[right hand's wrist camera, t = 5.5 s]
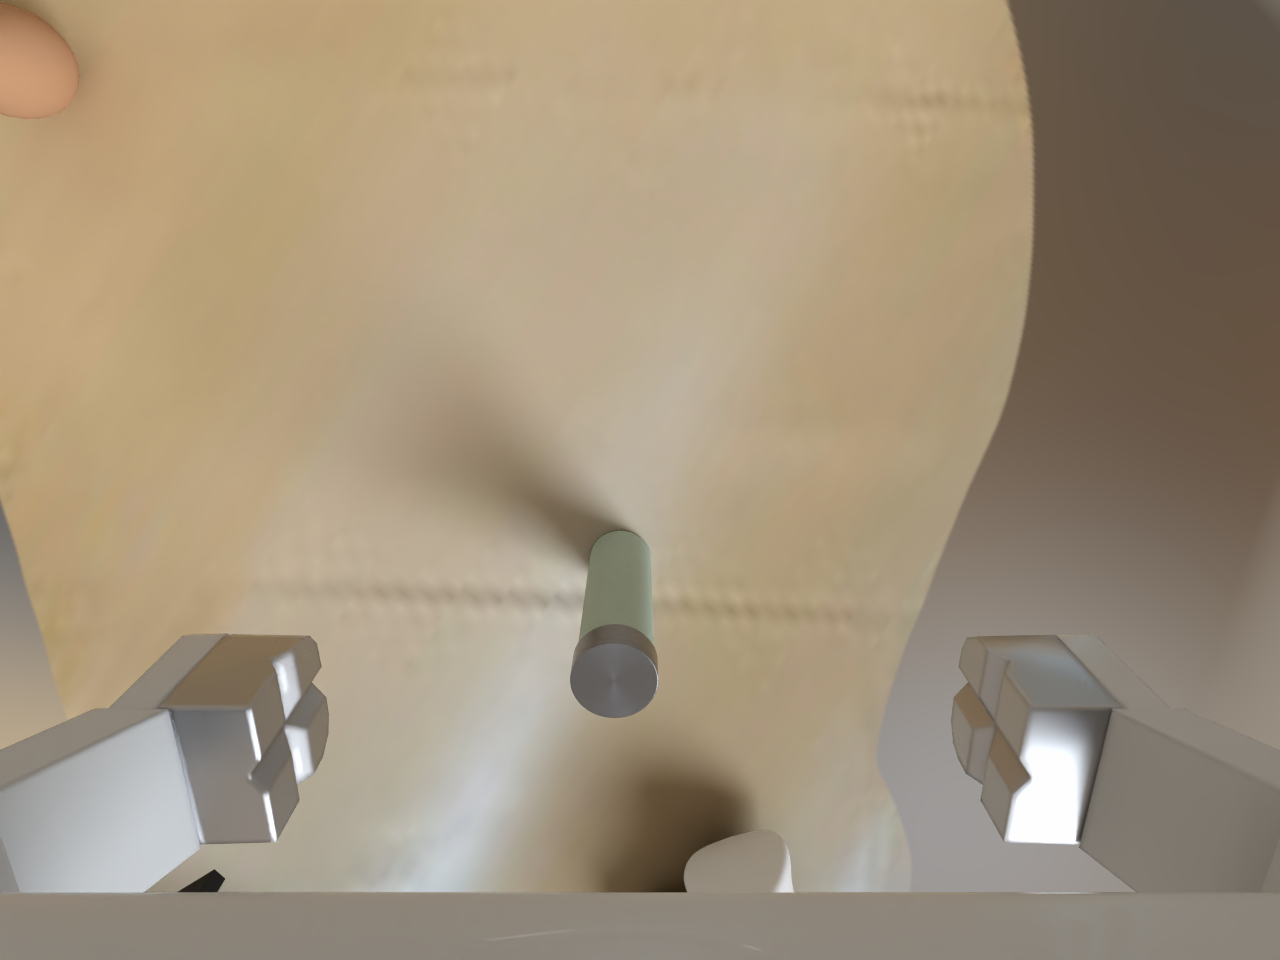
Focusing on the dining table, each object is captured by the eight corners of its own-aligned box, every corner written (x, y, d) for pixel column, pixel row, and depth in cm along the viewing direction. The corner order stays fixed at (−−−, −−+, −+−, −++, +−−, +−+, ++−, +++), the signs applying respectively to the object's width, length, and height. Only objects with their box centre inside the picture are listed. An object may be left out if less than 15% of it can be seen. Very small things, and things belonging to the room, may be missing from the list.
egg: (106, 32, 50) (13, 7, 43) (102, 134, 52) (12, 126, 45) (5, 3, 50) (-107, -29, 42) (5, 107, 52) (-102, 95, 44)
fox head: (565, 914, 65) (637, 1093, 71) (762, 934, 58) (825, 1132, 63) (628, 798, 77) (686, 960, 82) (799, 802, 70) (850, 979, 75)
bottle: (585, 534, 62) (568, 647, 47) (646, 526, 62) (648, 637, 47) (595, 588, 64) (581, 714, 49) (654, 581, 63) (659, 705, 48)
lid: (566, 628, 49) (563, 648, 46) (651, 618, 48) (652, 638, 46) (580, 700, 50) (577, 722, 48) (662, 691, 50) (663, 712, 48)
